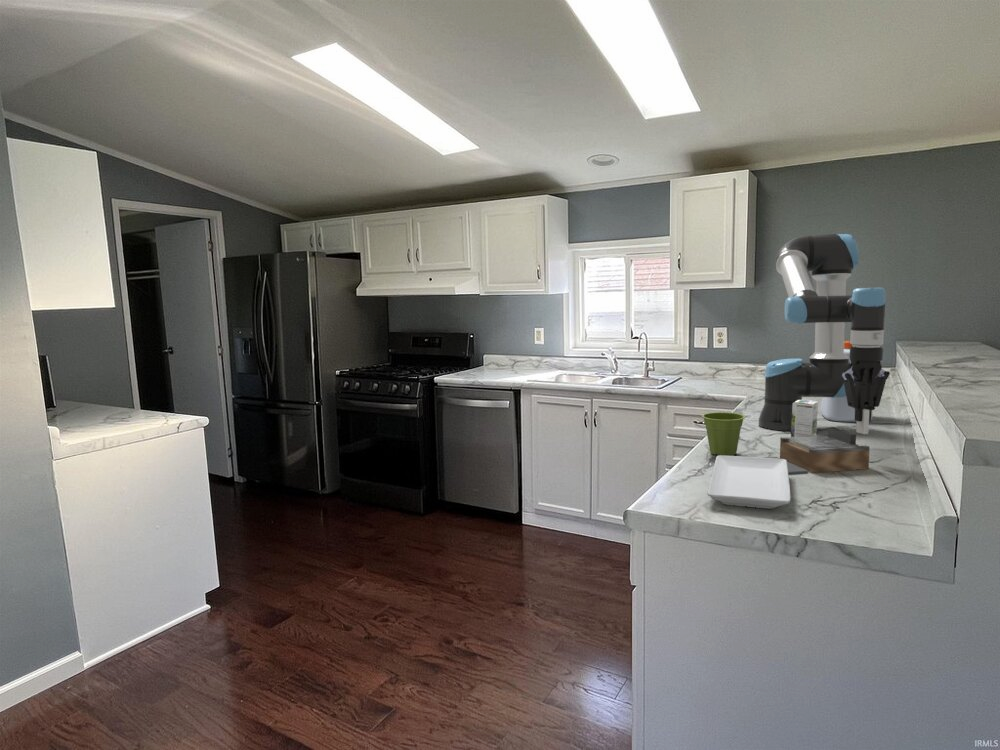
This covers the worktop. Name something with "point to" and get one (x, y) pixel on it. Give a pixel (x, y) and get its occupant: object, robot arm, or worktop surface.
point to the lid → (826, 440)
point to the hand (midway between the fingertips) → (862, 432)
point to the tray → (750, 481)
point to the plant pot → (723, 432)
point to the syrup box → (804, 418)
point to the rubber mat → (792, 468)
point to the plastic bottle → (839, 402)
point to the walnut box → (825, 457)
